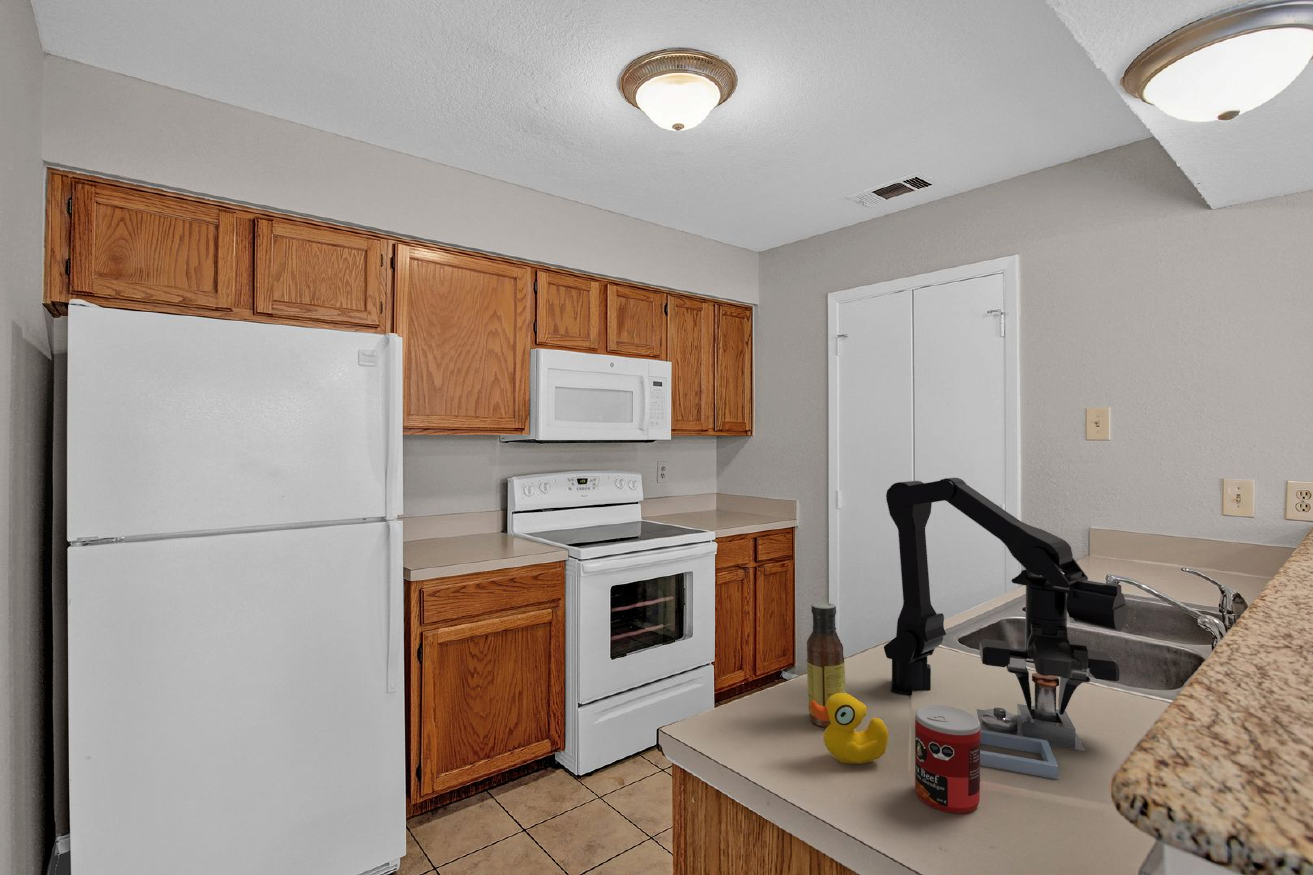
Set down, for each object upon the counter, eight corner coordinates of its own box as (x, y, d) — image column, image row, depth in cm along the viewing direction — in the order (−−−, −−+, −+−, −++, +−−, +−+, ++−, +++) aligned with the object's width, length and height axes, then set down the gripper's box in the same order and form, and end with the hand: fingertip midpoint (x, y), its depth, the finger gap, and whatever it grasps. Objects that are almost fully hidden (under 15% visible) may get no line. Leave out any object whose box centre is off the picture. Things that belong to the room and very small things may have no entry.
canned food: (904, 783, 89) (905, 705, 89) (959, 780, 90) (959, 703, 90) (932, 816, 82) (933, 731, 82) (992, 813, 82) (993, 728, 82)
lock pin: (1033, 734, 102) (1033, 679, 102) (1029, 724, 106) (1030, 671, 106) (1061, 738, 101) (1061, 683, 101) (1056, 728, 104) (1056, 674, 104)
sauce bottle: (848, 717, 110) (849, 602, 110) (843, 733, 104) (843, 611, 104) (810, 710, 113) (810, 598, 112) (802, 725, 107) (803, 607, 107)
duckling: (812, 768, 93) (813, 700, 93) (807, 750, 99) (807, 686, 99) (892, 772, 92) (892, 703, 92) (882, 753, 98) (883, 688, 98)
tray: (969, 768, 93) (969, 751, 93) (965, 742, 101) (965, 727, 101) (1058, 784, 89) (1058, 766, 89) (1047, 756, 97) (1047, 740, 97)
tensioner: (982, 739, 102) (982, 718, 102) (976, 713, 112) (976, 694, 111) (1085, 756, 97) (1085, 734, 97) (1070, 727, 106) (1070, 707, 106)
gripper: (986, 622, 99) (985, 722, 99) (1131, 637, 92) (1130, 745, 92) (979, 604, 109) (978, 695, 110) (1109, 616, 102) (1108, 713, 103)
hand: (1045, 711), depth 103 cm, fingers open, 4 cm apart
